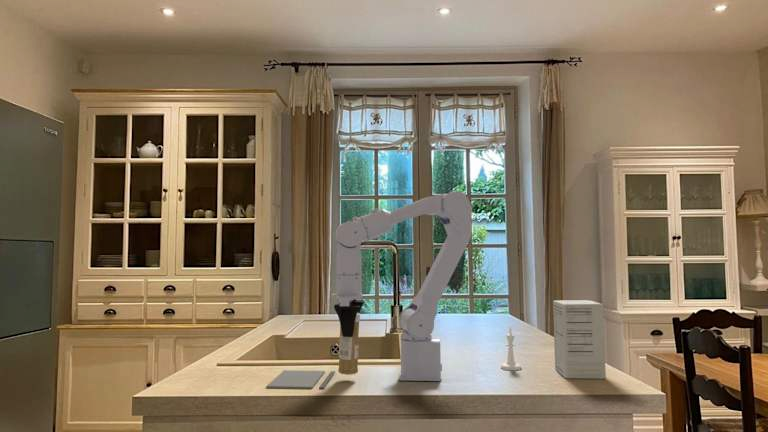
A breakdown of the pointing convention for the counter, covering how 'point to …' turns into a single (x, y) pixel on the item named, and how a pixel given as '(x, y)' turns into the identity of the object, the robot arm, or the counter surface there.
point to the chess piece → (510, 354)
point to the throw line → (327, 380)
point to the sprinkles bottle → (349, 351)
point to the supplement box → (579, 339)
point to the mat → (296, 379)
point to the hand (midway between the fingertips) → (349, 334)
